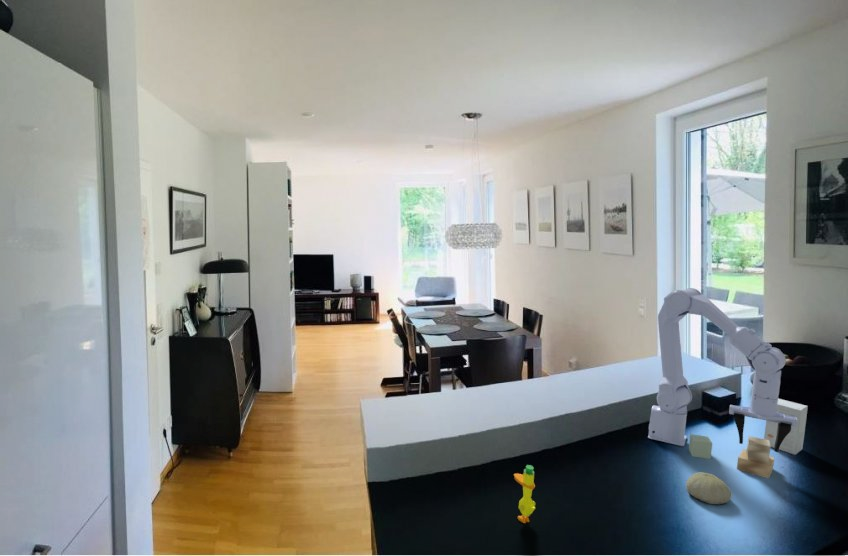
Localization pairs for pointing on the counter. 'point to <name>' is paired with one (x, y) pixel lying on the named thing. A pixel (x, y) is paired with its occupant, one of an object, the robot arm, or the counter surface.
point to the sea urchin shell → (708, 488)
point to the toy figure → (526, 493)
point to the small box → (796, 435)
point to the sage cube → (700, 446)
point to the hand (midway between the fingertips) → (758, 446)
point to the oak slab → (755, 465)
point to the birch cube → (758, 449)
